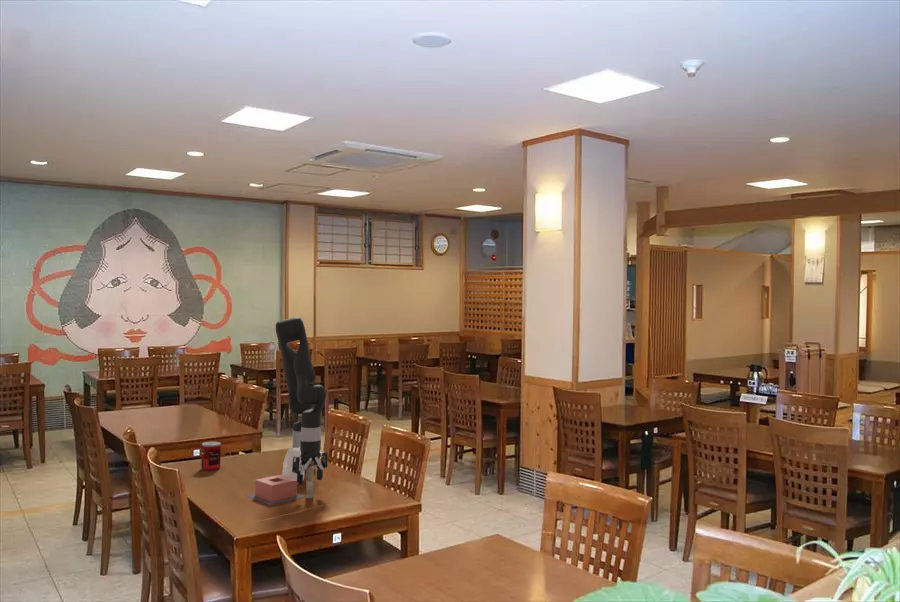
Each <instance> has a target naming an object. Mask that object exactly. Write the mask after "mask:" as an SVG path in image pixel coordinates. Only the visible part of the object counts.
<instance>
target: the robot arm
mask: <svg viewBox="0 0 900 602" xmlns="http://www.w3.org/2000/svg"><path fill="white" fill-rule="evenodd" d="M275 333H276V337H277V340H278V346H279V349H280V353H281V358H282V364H283V371H284V372H283V373H284V376H285V381H286V385H287V391H288V403H289V409H290V412H291V413H292V414H293V415H301V420H299V421H297V422H294V423H293V424H292V448H298V447H300V451H301V455H300V456H299V457H296V456H294V457H293V467H292V472H293V473H296V474H297V483H298V484H297V485H300V486H301V485H303V484H304V480H303V472H304V473H305V472H306V468H307V467H310V462H312V461H314V470H316V480H317V481H322V480H323V476H324V475H323V473H324V469H327V468H328V452H326V451H325V450H324V451H321V450H322V449H321V448H322V447H321V446H322V430H321V428H322V427H321V423H322V421H321V419H322V418H321V417H322V416H321V415H322V411H323V408H324V404H325V401H326V398H327V392H326V388H325V387H324V386H323V385H322V384H313V383H314V382H315V380H316V378H317V377H316V373H315V370H314V366H313V364H312V359H311V354H310V347H309V341H308V336H307V333H306V328H305V324H304V322H303V319H302V318H301V317H299V316H294V317H291V318H286V319H282V320H279V321H276V323H275ZM297 341H299V346H298V349H297V351H296V350H295V349H293V347H291V346H290V344H289V343H292V342H297ZM300 460H301V463H300V464H299V462H300Z"/></svg>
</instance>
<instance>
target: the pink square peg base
mask: <svg viewBox="0 0 900 602" xmlns="http://www.w3.org/2000/svg"><path fill="white" fill-rule="evenodd" d="M254 484H255V485H254V494H255V496H257V497H260V498H262V499H265V500H267V501H270V502H274V501H278V500H282V499H287V498H291V497H295V496H297V493H298V484H297V480H295V479H292V478H289V477H286V476H283V475H282V474H277V475H271V476H267V477H262V478H258V479H255V481H254Z"/></svg>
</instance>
